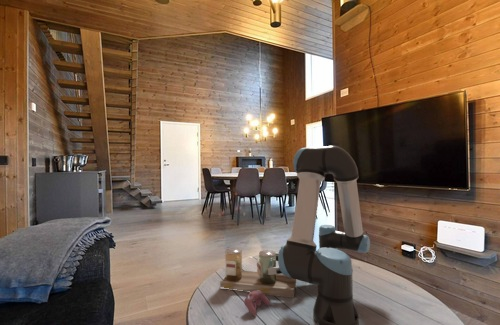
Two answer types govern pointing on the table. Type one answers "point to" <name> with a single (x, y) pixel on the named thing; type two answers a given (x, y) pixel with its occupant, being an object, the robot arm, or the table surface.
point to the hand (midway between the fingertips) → (264, 265)
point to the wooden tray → (252, 283)
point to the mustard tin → (233, 264)
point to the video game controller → (256, 297)
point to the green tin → (266, 266)
